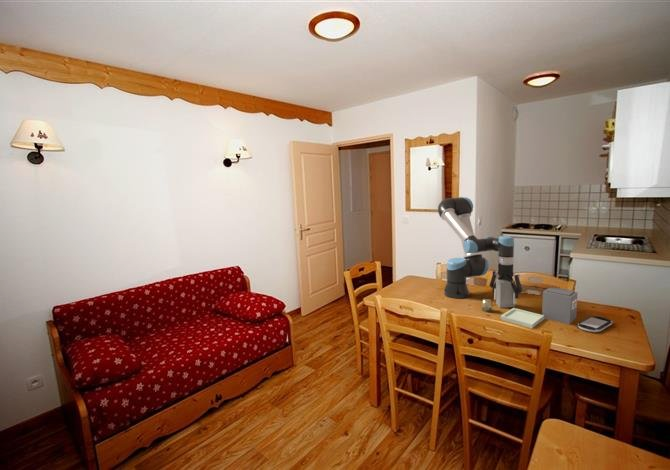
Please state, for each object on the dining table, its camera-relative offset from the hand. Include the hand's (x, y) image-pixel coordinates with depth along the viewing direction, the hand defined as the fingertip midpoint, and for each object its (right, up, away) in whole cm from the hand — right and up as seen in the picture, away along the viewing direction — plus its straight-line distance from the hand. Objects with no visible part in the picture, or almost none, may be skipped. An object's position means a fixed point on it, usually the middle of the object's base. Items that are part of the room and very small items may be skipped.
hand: (505, 301), depth 183 cm
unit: (+18, -5, -19) cm, 26 cm away
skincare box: (0, -3, 0) cm, 3 cm away
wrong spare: (-12, -4, -4) cm, 14 cm away
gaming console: (+27, -6, -29) cm, 41 cm away
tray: (-1, -6, -18) cm, 19 cm away
